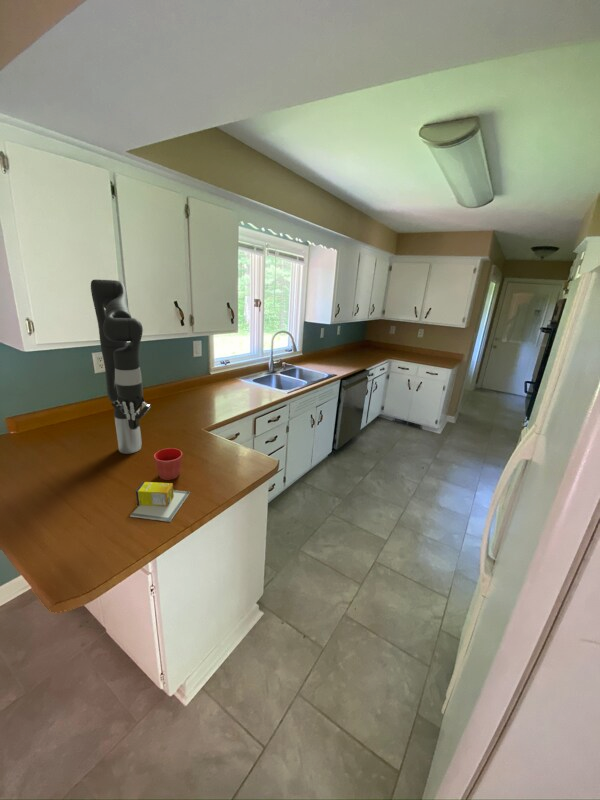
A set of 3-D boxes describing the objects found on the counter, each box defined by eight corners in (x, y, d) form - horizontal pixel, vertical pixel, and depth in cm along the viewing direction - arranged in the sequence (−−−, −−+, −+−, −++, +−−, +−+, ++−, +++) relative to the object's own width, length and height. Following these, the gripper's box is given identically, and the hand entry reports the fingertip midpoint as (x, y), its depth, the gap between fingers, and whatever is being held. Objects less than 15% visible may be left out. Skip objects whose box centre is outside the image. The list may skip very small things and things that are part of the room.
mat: (154, 488, 122) (154, 487, 122) (190, 492, 121) (190, 491, 121) (130, 516, 107) (130, 515, 107) (170, 521, 106) (170, 520, 106)
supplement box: (144, 494, 117) (174, 496, 118) (136, 505, 112) (168, 506, 112) (143, 481, 115) (173, 482, 116) (135, 491, 110) (167, 492, 110)
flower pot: (184, 467, 137) (183, 447, 134) (181, 481, 127) (180, 460, 124) (158, 468, 135) (157, 448, 132) (153, 483, 125) (151, 461, 122)
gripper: (154, 379, 106) (158, 426, 112) (116, 375, 106) (122, 421, 113) (142, 386, 99) (147, 435, 105) (101, 382, 99) (108, 431, 106)
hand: (134, 428), depth 109 cm, fingers closed
